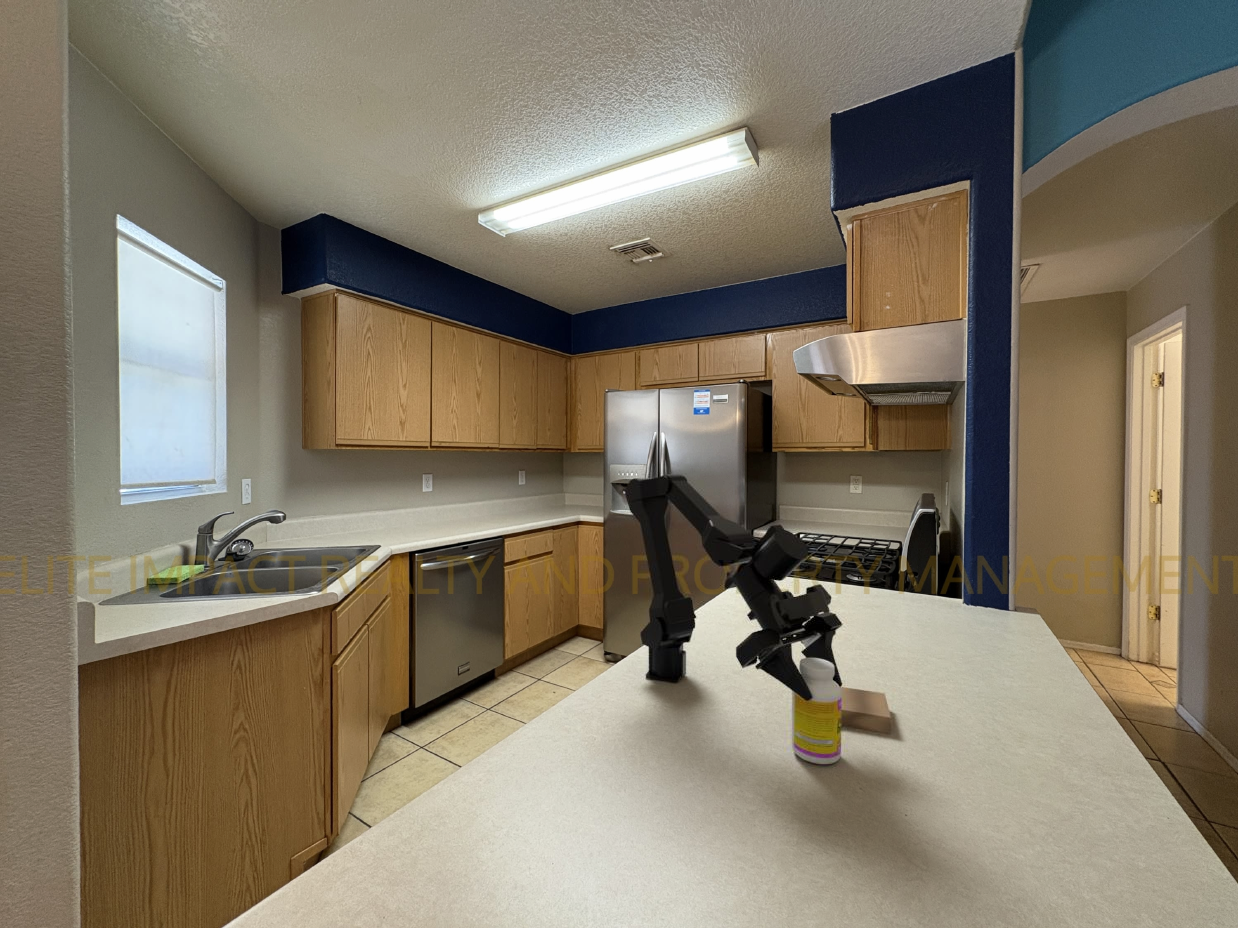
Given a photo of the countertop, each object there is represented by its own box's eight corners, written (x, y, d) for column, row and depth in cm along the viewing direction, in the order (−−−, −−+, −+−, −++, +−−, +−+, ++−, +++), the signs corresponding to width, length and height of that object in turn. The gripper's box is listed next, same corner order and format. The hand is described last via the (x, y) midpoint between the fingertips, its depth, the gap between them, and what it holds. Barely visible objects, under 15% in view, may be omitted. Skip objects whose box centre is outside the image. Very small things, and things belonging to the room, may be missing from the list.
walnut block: (827, 722, 84) (828, 707, 84) (827, 698, 92) (827, 684, 92) (890, 733, 80) (890, 717, 80) (884, 707, 89) (884, 693, 89)
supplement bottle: (845, 769, 71) (847, 675, 71) (794, 763, 72) (795, 670, 72) (835, 742, 77) (836, 656, 77) (788, 737, 79) (789, 653, 78)
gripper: (752, 575, 72) (821, 683, 63) (832, 560, 83) (901, 651, 74) (711, 617, 79) (768, 720, 70) (789, 598, 89) (848, 686, 81)
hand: (825, 693), depth 73 cm, fingers closed on supplement bottle, 7 cm apart
